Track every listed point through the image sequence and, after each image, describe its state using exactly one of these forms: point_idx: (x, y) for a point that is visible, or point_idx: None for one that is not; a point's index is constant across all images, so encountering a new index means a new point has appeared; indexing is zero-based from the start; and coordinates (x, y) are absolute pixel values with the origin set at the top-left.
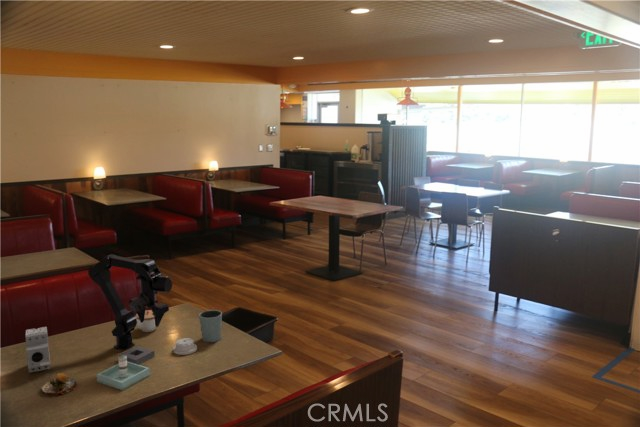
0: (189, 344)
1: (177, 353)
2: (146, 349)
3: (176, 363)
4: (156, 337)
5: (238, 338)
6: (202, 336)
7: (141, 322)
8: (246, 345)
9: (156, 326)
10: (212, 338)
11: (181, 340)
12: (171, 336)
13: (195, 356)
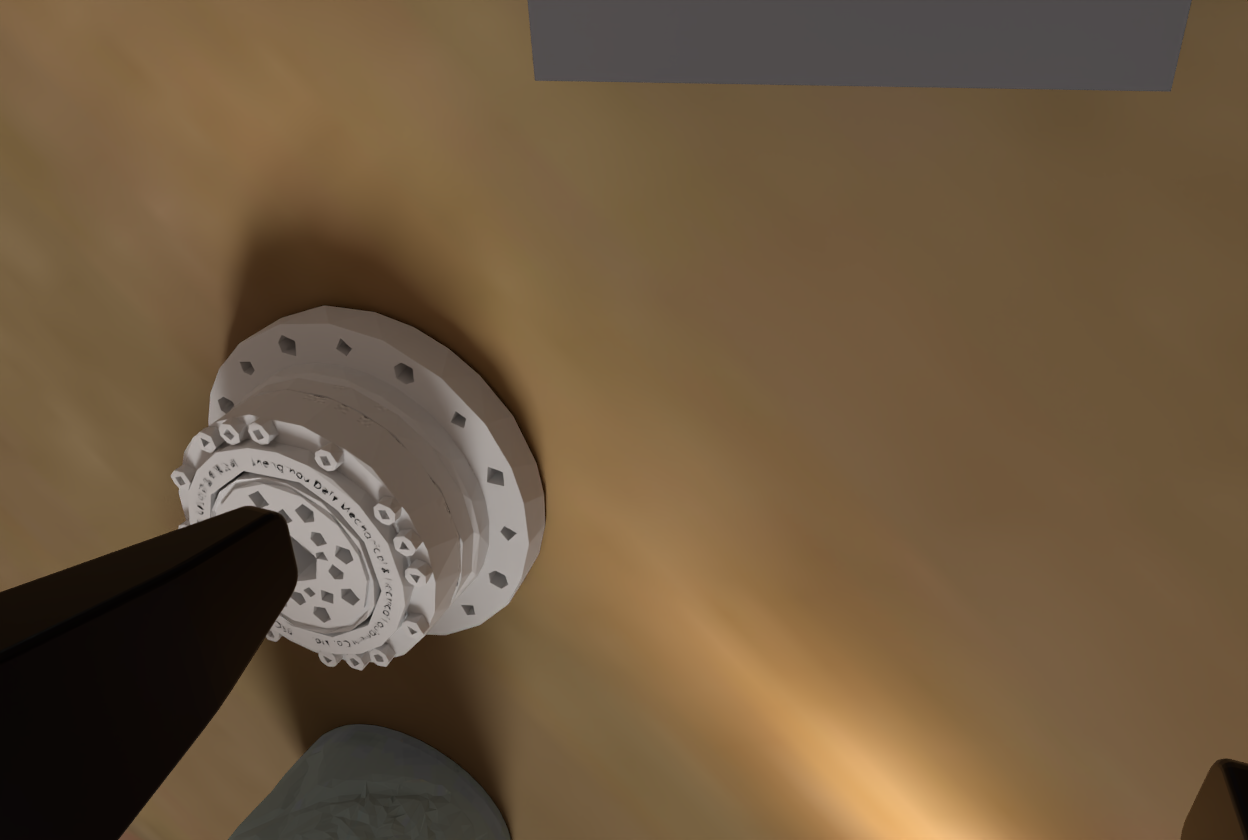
0: (183, 491)
1: (336, 312)
2: (748, 41)
3: (99, 29)
4: (1188, 748)
5: (221, 832)
6: (419, 799)
7: (1230, 761)
8: None
9: (221, 514)
10: (293, 768)
11: (350, 562)
12: (932, 808)
13: (134, 349)
